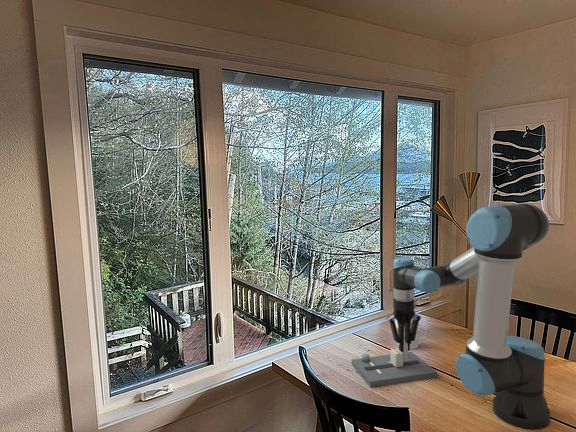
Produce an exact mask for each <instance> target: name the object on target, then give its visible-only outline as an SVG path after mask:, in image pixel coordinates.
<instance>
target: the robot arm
mask: <svg viewBox="0 0 576 432" xmlns="http://www.w3.org/2000/svg"><path fill="white" fill-rule="evenodd" d="M549 230H550V220H549V218H548V216H547V214H546V213H545V211H544V210H542V209H541V208H539V207H538V206H536V205H534V204H530V203H516V204H514V203H513V204H498V205H497V204H496V205H495V204H493V205H488V206H483V207H480V208H478V209H476V211H475V212H473V213H472V214H470V216H469V219H468V221H467V225H466V232H465V233H466V237H467V239H468V243H469V244H470V245H471V246H472V247H471V248H470V249H467V250H466V251H465V252H463V253H462V254H460V255H459V256H457V257H456V258H454V259H452V260H451V261H449V262H448V263H447V264H444V265H443V264H442V265H436V266H429V267H418V266H416V265H415V261H414V259H413V258H411V257H408V256H407V257H404V256H403V257H402V256H400V257H397V258H394V259H393V262H392V263H393V266H392V267H393V268H392V277H393V278H392V279H393V281H392V282H393V289H392V290H393V313H392V315H391V316H390V317H389V316H388V317H386V318H387V321H388V323H389V326H390V330H391V333H392V337H393V338H392V339H393V341H395V343H397V344H398V343H399V346H398V349H399V350H400V351H401V352H402V353H403V360H404V361H408V352H410V350H411V349H410V344H411V341H414V340H415V336H416V332H417V327H418V326H419V325H418V323H420V320H421V318H422V317H421V316H420V315H419V314H417V313H416V311H415V300H414V299H415V289H416V290H418V291H420V292H422V293H427V294H433V293H435V292H436V291H437V290H438V289H439V288H445V287H452V286H460V285H463V284H465V283H467V281H468V279H469V277H471V276H473V275H475V274H477V273H478V275H477V285H476V295H475V306H474V307H475V309H474V319H473V331H472V337H471V338H468V339H467V340H466V343H465V344H466V345H465V353H461V354H460V355H459V356H457V358H456V359H455V370H456V373H457V376H458V378H459V379H460V381H461V383H462V384H463V386H464V387H465V388H466V389H467V390H468V391H469V392H471V393H472V394H473V395H475V396H480V397H485V396H491V395H492V396H493V395H494V394H495V396H494V397H493V399H492V412H493V413H494V414H495V416H497V418H499V419H500V420H502V421H504V422H505V423H508V424H510V425H512V426H515V427H519V428H523V429H529V430H530V429H531V430H539V429H544V428H547V427H548V426H549V425H550V423H551V411H550V409H549V405H548V403H547V400H546V397H545V393H544V392H545V391H544V390H545V388H544V387H545V361H546V358H545V349H544V348H543V346H542V345H541V344H540V343H538V342H536V341H534V340H531V339H528V338H525V337H520V336H516V335H515V336H514V335H508V332H509V323H510V315H511V314H510V313H511V302H512V293H513V283H514V273H515V265H516V263H517V262H518V261H520V260H522V258H523V252H524V251H525V250H527V249H530V248H531V247H533V246H534V245H537V244H539V243H541V241H543V240H544V239H545V238H546V236H547V234H548V233H549ZM395 319H396V320H397V323H398V332H397V328H396V324H395ZM412 319H413V320H412ZM411 320H412V324H411ZM410 326H411V329H410ZM418 328H419V327H418ZM404 340H405V341H404Z"/></svg>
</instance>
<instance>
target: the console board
mask: <svg viewBox="0 0 576 432" xmlns="http://www.w3.org/2000/svg"><path fill="white" fill-rule="evenodd" d="M351 366H352V367H353V368H354V369H355V371H356V372H357V373H358V374H359V375H360V376H361V378H362V379H363V381H364V382H365V383H366V384H367V385H368V387H369V388H374V387H375V388H376V387H380V386H386V385H387V386H388V385H394V384H399V383H407V382H415V381H420V380H426V379H427V380H428V379H435V378H438V371H436V369H434V368H433V367H431V366H430V365H429V364H428V363H426V362H425V361H424V360H423V359H422V358H420V356H418V355H417V354H415V353H414V352H413V351H408V361H404V360H403V366H401V367H395V366H394V365H393V364H392V363H391V362H390V354H384V355H377V356H370V355H369V354H367V353H364V354H362V355H361V357H360V358H354V359H351Z"/></svg>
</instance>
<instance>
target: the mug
mask: <svg viewBox="0 0 576 432" xmlns="http://www.w3.org/2000/svg"><path fill="white" fill-rule="evenodd" d="M412 320H413V319H412ZM412 320H411V324H412ZM418 326H419V327H420V328H422V329H423V331H424V336H423V337H420V338H419V337H418V336H419V334H418V333H419V332H418V331H419V329H418V328H419V327H417V332H416V336H415V340H414V341H411V344H410V350H415V349H418V347H419V342H421V341H423V340H424V339H425V337H426V336H427V332H426V328H425V326H424V325H423V324H421V323H420V322H418ZM410 329H411V326H410ZM404 341H405V340H404ZM397 345H398V347H399V343H397Z"/></svg>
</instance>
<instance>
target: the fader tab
mask: <svg viewBox="0 0 576 432" xmlns="http://www.w3.org/2000/svg"><path fill="white" fill-rule="evenodd" d="M389 351H390V354H389V355H390V362H391V363H392V364H393V365H394V366H395V367H401V366H403V353H402V352H401V351H400V350H399V348H392V349H390V350H389Z"/></svg>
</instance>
